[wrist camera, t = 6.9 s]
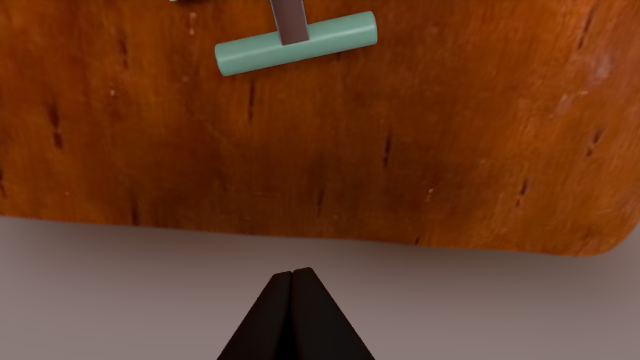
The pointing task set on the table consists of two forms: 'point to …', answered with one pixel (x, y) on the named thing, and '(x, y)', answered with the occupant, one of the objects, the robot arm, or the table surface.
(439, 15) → the table surface
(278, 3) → the lever
